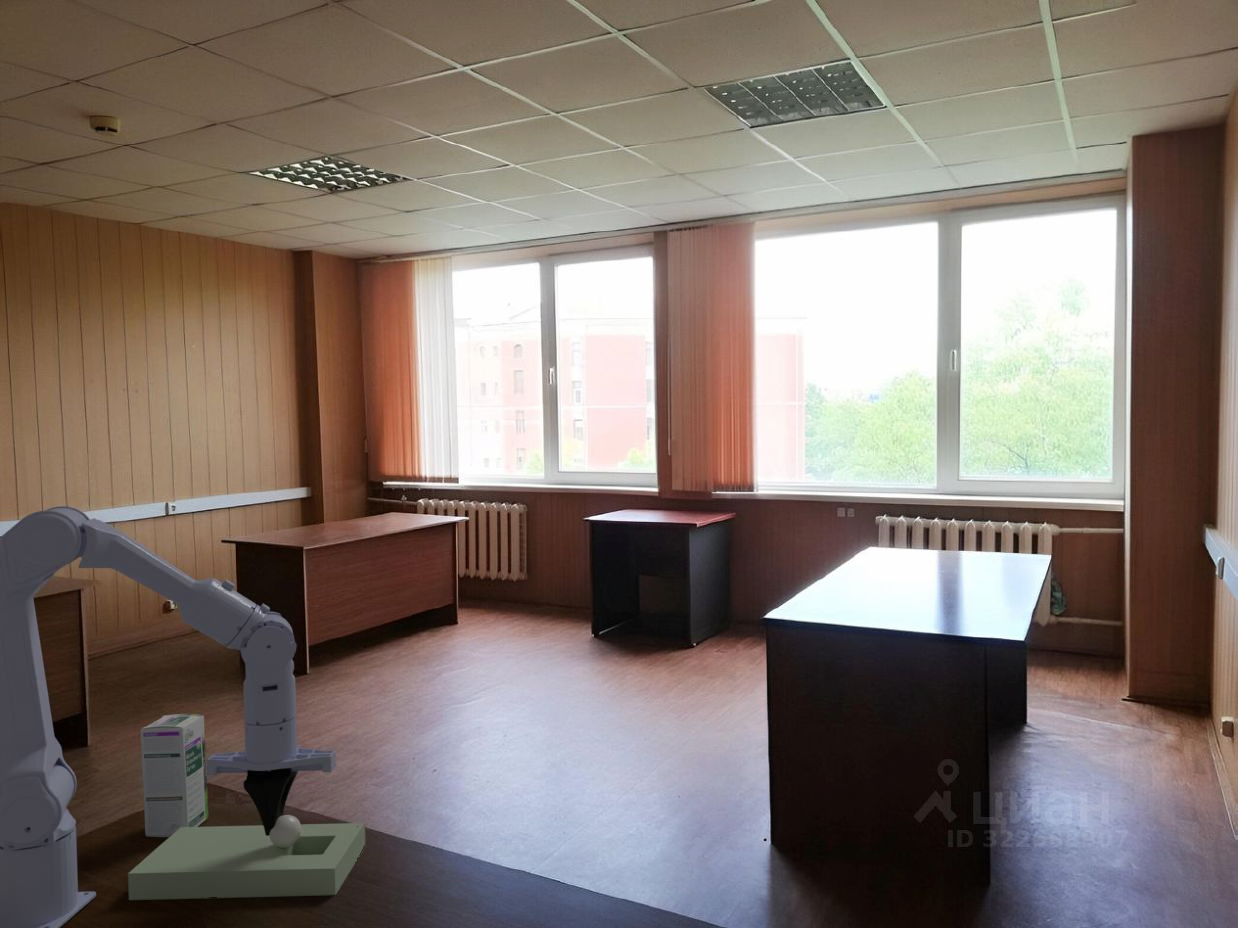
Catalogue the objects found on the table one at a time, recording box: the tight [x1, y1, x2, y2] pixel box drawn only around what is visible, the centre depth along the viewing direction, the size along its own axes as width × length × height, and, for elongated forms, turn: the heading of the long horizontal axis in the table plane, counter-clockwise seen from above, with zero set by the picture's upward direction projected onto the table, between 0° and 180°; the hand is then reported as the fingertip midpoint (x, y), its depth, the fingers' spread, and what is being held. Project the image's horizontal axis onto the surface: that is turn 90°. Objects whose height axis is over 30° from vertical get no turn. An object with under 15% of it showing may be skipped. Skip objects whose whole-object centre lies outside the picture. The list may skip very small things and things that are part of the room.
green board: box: [127, 822, 366, 901], centre depth 104 cm, size 23×12×3 cm, turn 91°
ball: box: [269, 814, 301, 848], centre depth 104 cm, size 4×4×4 cm
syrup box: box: [140, 713, 209, 838], centre depth 117 cm, size 6×6×14 cm
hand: (274, 831), depth 104 cm, fingers closed, pressing on ball
